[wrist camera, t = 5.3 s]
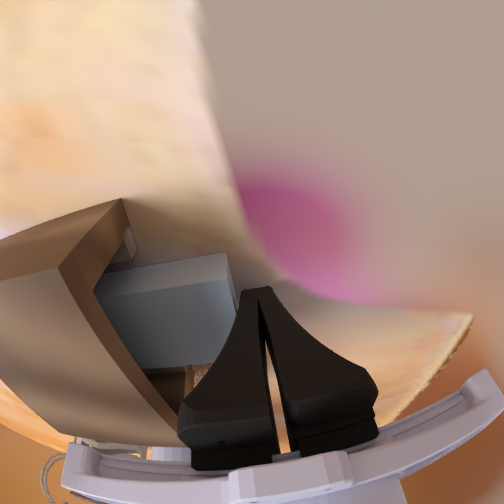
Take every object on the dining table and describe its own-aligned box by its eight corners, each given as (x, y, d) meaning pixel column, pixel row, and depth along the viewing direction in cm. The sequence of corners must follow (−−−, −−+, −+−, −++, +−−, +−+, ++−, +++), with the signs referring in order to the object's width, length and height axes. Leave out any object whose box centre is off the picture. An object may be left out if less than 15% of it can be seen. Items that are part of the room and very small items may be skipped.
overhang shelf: (194, 372, 16) (191, 447, 12) (78, 375, 16) (60, 432, 12) (120, 198, 10) (57, 267, 6) (-7, 242, 10) (-59, 296, 6)
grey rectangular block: (244, 324, 15) (247, 358, 13) (132, 338, 15) (123, 369, 13) (226, 247, 13) (227, 278, 10) (97, 271, 13) (79, 300, 10)
